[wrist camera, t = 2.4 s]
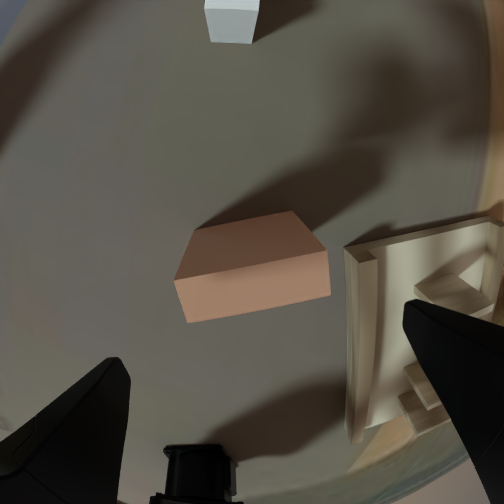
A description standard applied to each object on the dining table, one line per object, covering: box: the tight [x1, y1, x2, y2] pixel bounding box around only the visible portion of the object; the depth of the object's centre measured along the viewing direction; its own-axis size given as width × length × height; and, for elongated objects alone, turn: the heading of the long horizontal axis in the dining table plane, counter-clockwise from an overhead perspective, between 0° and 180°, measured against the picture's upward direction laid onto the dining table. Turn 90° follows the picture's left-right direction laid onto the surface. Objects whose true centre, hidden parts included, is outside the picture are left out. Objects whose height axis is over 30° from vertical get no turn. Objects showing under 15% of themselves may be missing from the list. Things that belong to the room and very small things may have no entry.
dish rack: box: [343, 216, 504, 445], centre depth 19 cm, size 14×20×6 cm
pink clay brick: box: [174, 211, 331, 323], centre depth 15 cm, size 6×2×7 cm, turn 101°
